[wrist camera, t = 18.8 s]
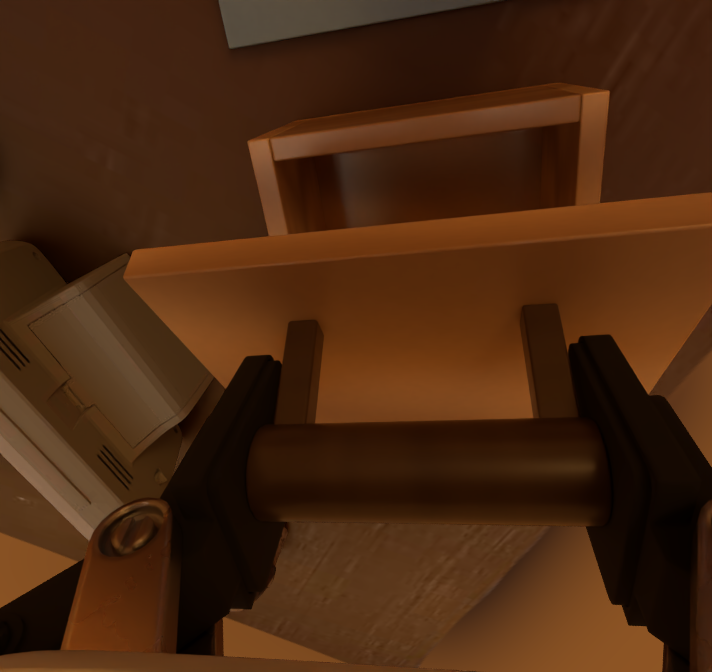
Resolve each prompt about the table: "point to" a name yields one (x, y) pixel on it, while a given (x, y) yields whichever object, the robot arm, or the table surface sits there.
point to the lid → (438, 353)
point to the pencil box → (434, 160)
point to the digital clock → (89, 386)
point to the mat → (318, 16)
